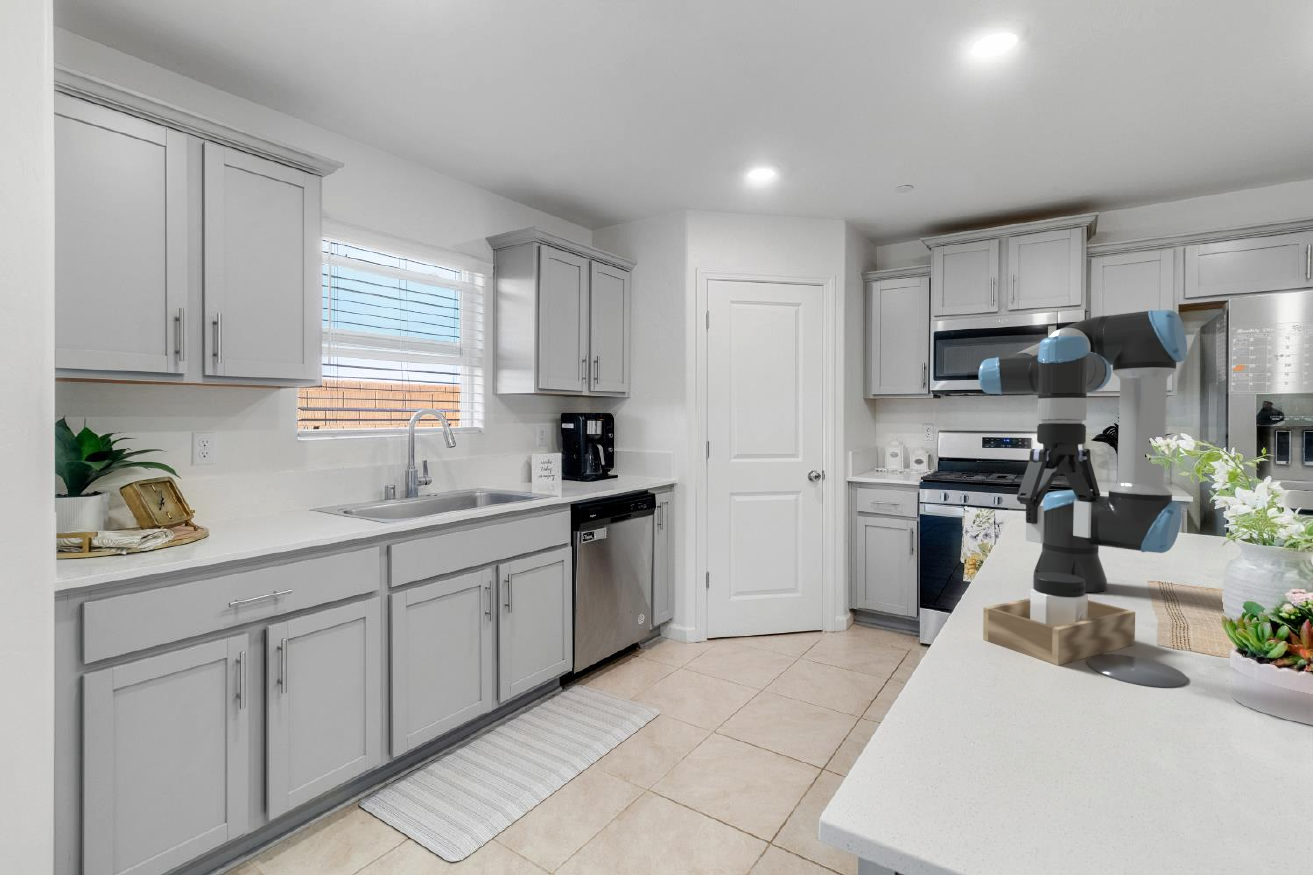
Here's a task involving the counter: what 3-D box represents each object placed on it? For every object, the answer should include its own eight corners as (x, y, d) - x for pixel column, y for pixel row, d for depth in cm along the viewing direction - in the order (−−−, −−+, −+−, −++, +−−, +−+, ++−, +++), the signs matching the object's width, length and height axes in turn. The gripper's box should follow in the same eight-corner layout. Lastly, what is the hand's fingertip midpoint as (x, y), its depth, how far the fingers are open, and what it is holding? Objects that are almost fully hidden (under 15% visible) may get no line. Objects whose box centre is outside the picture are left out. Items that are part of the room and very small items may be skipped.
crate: (1058, 622, 131) (1058, 592, 130) (1134, 644, 118) (1135, 611, 118) (983, 639, 121) (983, 607, 121) (1057, 665, 108) (1058, 629, 108)
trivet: (1116, 651, 115) (1116, 649, 115) (1204, 677, 103) (1204, 675, 103) (1070, 663, 109) (1070, 662, 109) (1158, 693, 97) (1158, 691, 97)
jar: (1070, 653, 114) (1071, 585, 113) (1022, 640, 120) (1023, 576, 120) (1094, 643, 119) (1095, 578, 118) (1047, 631, 125) (1048, 569, 125)
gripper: (1082, 422, 127) (1079, 531, 127) (996, 421, 116) (993, 540, 116) (1124, 422, 120) (1121, 537, 121) (1036, 421, 109) (1034, 548, 110)
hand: (1058, 539), depth 119 cm, fingers open, 13 cm apart
